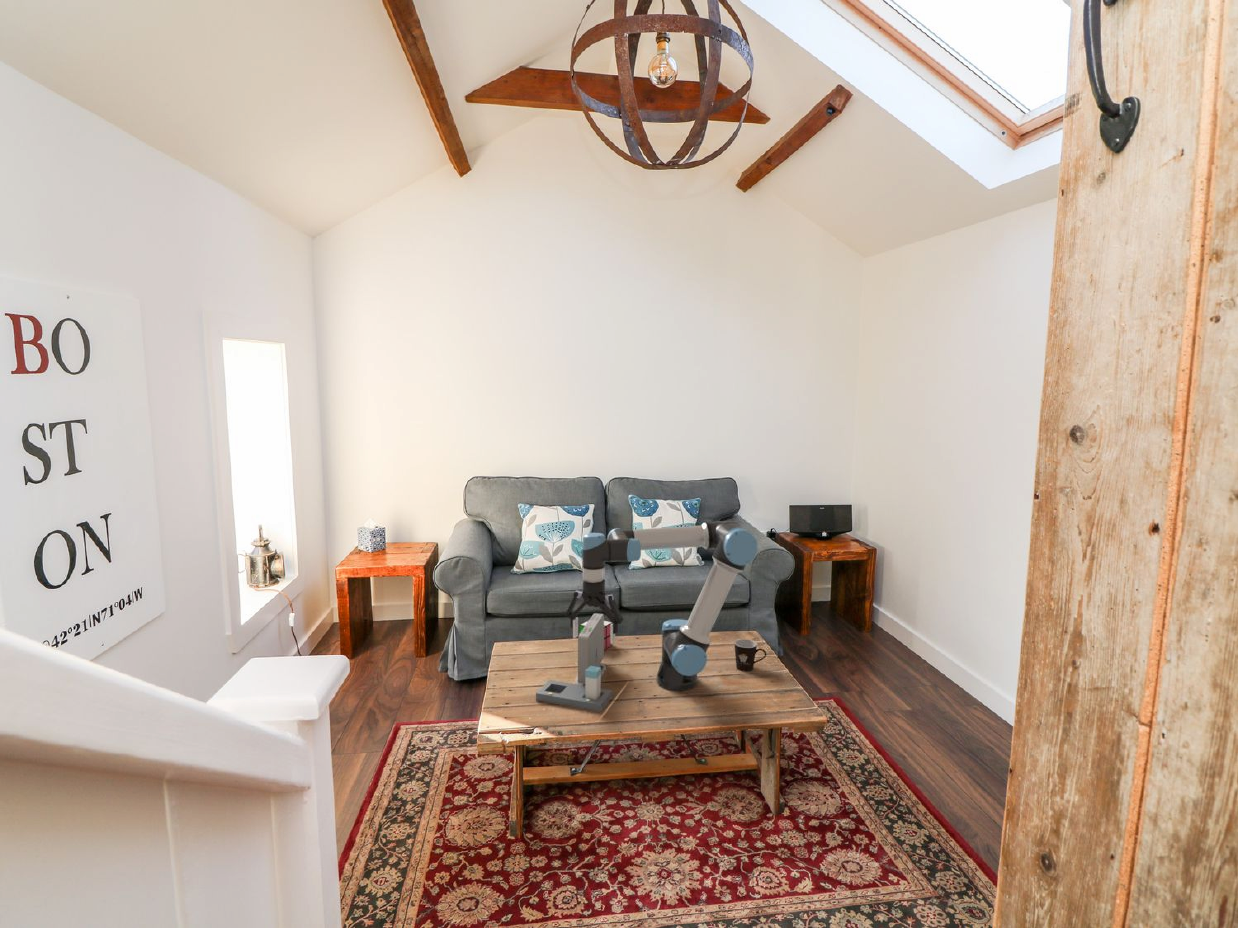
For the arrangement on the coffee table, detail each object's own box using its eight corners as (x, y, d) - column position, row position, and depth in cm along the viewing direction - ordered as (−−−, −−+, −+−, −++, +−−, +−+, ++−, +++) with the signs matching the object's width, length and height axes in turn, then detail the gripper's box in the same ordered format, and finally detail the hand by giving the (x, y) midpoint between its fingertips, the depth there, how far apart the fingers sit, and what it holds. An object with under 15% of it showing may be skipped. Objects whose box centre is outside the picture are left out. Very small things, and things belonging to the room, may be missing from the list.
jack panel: (611, 698, 234) (612, 689, 234) (600, 713, 224) (600, 703, 224) (549, 687, 242) (549, 678, 242) (535, 701, 232) (535, 692, 231)
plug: (600, 700, 232) (600, 667, 230) (596, 705, 228) (596, 672, 227) (589, 698, 233) (589, 665, 232) (585, 703, 229) (585, 670, 228)
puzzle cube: (612, 645, 281) (612, 622, 280) (599, 653, 273) (599, 629, 272) (593, 640, 287) (593, 617, 285) (579, 647, 278) (579, 624, 277)
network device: (594, 691, 240) (594, 637, 237) (570, 688, 241) (570, 635, 239) (609, 662, 264) (609, 613, 262) (587, 660, 266) (588, 611, 264)
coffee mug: (728, 667, 261) (729, 642, 259) (742, 661, 266) (743, 637, 265) (753, 677, 252) (754, 652, 251) (766, 671, 258) (767, 646, 256)
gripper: (632, 579, 225) (632, 640, 227) (564, 572, 233) (564, 631, 236) (625, 586, 218) (625, 648, 220) (555, 578, 226) (555, 638, 229)
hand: (594, 639), depth 228 cm, fingers open, 13 cm apart
